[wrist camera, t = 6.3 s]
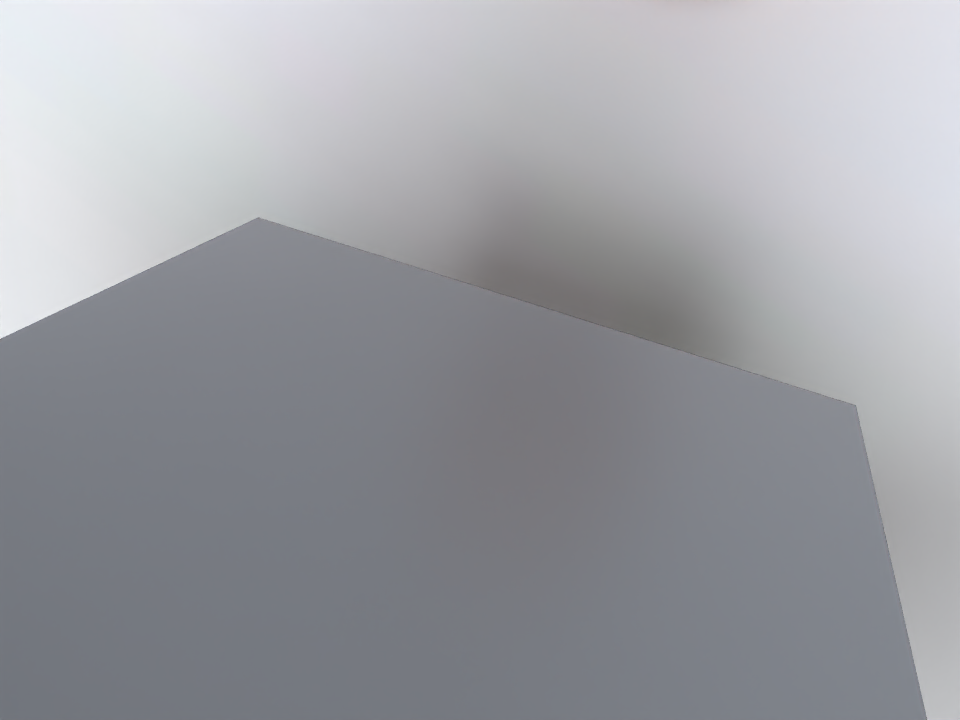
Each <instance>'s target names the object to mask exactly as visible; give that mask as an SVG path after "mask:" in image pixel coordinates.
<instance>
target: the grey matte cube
mask: <svg viewBox="0 0 960 720" xmlns="http://www.w3.org/2000/svg"><path fill="white" fill-rule="evenodd" d="M0 720H927V717H926V713H925V708H924V704H923V700H922V695H921V691H920V686H919V682H918V678H917V673H916V669H915V664H914V660H913V656H912V651H911V647H910V642H909V638H908V634H907V629H906V625H905V621H904V616H903V612H902V607H901V603H900V599H899V594H898V590H897V585H896V581H895V577H894V572H893V568H892V563H891V559H890V555H889V550H888V546H887V541H886V537H885V533H884V528H883V524H882V519H881V515H880V511H879V506H878V502H877V497H876V493H875V489H874V484H873V480H872V475H871V471H870V467H869V462H868V458H867V453H866V449H865V445H864V440H863V436H862V431H861V427H860V423H859V418H858V414H857V409H856V405H852V404H849V403H846V402H843V401H840V400H836V399H833V398H830V397H827V396H824V395H821V394H817V393H814V392H811V391H808V390H805V389H801V388H798V387H795V386H792V385H789V384H786V383H782V382H779V381H776V380H773V379H770V378H767V377H763V376H760V375H757V374H754V373H751V372H747V371H744V370H741V369H738V368H735V367H732V366H728V365H725V364H722V363H719V362H716V361H712V360H709V359H706V358H703V357H700V356H697V355H693V354H690V353H687V352H684V351H681V350H678V349H674V348H671V347H668V346H665V345H662V344H658V343H655V342H652V341H649V340H646V339H643V338H639V337H636V336H633V335H630V334H627V333H623V332H620V331H617V330H614V329H611V328H608V327H604V326H601V325H598V324H595V323H592V322H588V321H585V320H582V319H579V318H576V317H573V316H569V315H566V314H563V313H560V312H557V311H554V310H550V309H547V308H544V307H541V306H538V305H534V304H531V303H528V302H525V301H522V300H519V299H515V298H512V297H509V296H506V295H503V294H499V293H496V292H493V291H490V290H487V289H484V288H480V287H477V286H474V285H471V284H468V283H465V282H461V281H458V280H455V279H452V278H449V277H445V276H442V275H439V274H436V273H433V272H430V271H426V270H423V269H420V268H417V267H414V266H410V265H407V264H404V263H401V262H398V261H395V260H391V259H388V258H385V257H382V256H379V255H375V254H372V253H369V252H366V251H363V250H360V249H356V248H353V247H350V246H347V245H344V244H341V243H337V242H334V241H331V240H328V239H325V238H321V237H318V236H315V235H312V234H309V233H306V232H302V231H299V230H296V229H293V228H290V227H286V226H283V225H280V224H277V223H274V222H271V221H267V220H264V219H261V218H256V219H254V220H252V221H250V222H248V223H246V224H244V225H242V226H239V227H237V228H235V229H233V230H231V231H229V232H227V233H225V234H222V235H220V236H218V237H216V238H214V239H212V240H210V241H208V242H205V243H203V244H201V245H199V246H197V247H195V248H193V249H191V250H188V251H186V252H184V253H182V254H180V255H178V256H176V257H174V258H171V259H169V260H167V261H165V262H163V263H161V264H159V265H157V266H154V267H152V268H150V269H148V270H146V271H144V272H142V273H140V274H137V275H135V276H133V277H131V278H129V279H127V280H125V281H123V282H120V283H118V284H116V285H114V286H112V287H110V288H108V289H106V290H103V291H101V292H99V293H97V294H95V295H93V296H91V297H89V298H86V299H84V300H82V301H80V302H78V303H76V304H74V305H72V306H69V307H67V308H65V309H63V310H61V311H59V312H57V313H55V314H52V315H50V316H48V317H46V318H44V319H42V320H40V321H38V322H35V323H33V324H31V325H29V326H27V327H25V328H23V329H21V330H18V331H16V332H14V333H12V334H10V335H8V336H6V337H4V338H1V339H0Z"/></svg>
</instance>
